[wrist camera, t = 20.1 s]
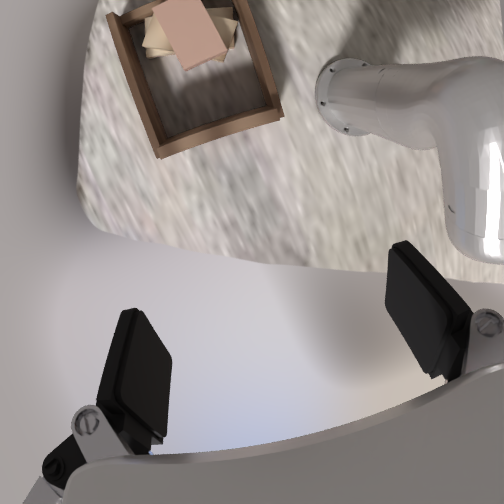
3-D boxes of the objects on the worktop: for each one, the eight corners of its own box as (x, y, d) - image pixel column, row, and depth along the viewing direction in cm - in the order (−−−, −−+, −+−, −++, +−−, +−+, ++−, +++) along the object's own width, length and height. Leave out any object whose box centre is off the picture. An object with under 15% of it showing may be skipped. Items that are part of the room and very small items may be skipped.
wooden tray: (232, -16, 27) (235, -37, 21) (275, 113, 39) (288, 118, 32) (119, 23, 28) (99, 12, 22) (164, 149, 40) (153, 162, 33)
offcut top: (226, 53, 30) (227, 50, 28) (186, 71, 31) (183, 69, 29) (195, -6, 25) (194, -12, 23) (155, 13, 26) (151, 8, 24)
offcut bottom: (231, 11, 30) (232, 6, 28) (233, 49, 34) (234, 46, 32) (148, 21, 30) (144, 18, 28) (150, 59, 33) (146, 57, 31)
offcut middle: (237, 25, 30) (238, 21, 28) (223, 62, 33) (223, 60, 31) (159, 11, 27) (156, 6, 25) (146, 48, 30) (142, 45, 28)
